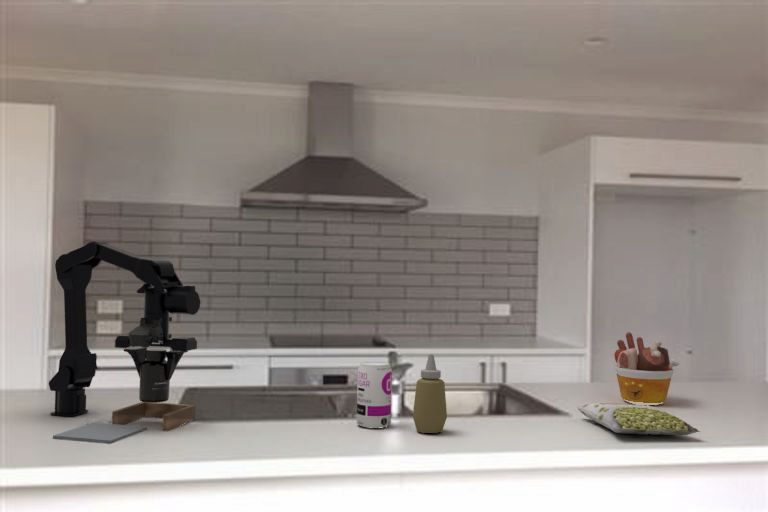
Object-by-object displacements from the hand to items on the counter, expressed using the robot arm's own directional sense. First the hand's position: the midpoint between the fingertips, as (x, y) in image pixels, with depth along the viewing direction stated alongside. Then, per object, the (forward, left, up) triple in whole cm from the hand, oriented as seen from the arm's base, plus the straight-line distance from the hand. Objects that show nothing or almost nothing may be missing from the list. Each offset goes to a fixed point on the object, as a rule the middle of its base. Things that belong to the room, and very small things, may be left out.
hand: (155, 378), depth 174 cm
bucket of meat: (+117, +73, -11) cm, 138 cm away
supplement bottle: (0, 0, -5) cm, 5 cm away
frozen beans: (+111, +32, -11) cm, 116 cm away
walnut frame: (0, 0, -10) cm, 11 cm away
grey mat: (-5, -13, -10) cm, 17 cm away
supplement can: (+50, +15, -11) cm, 53 cm away
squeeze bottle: (+64, +13, -11) cm, 66 cm away
